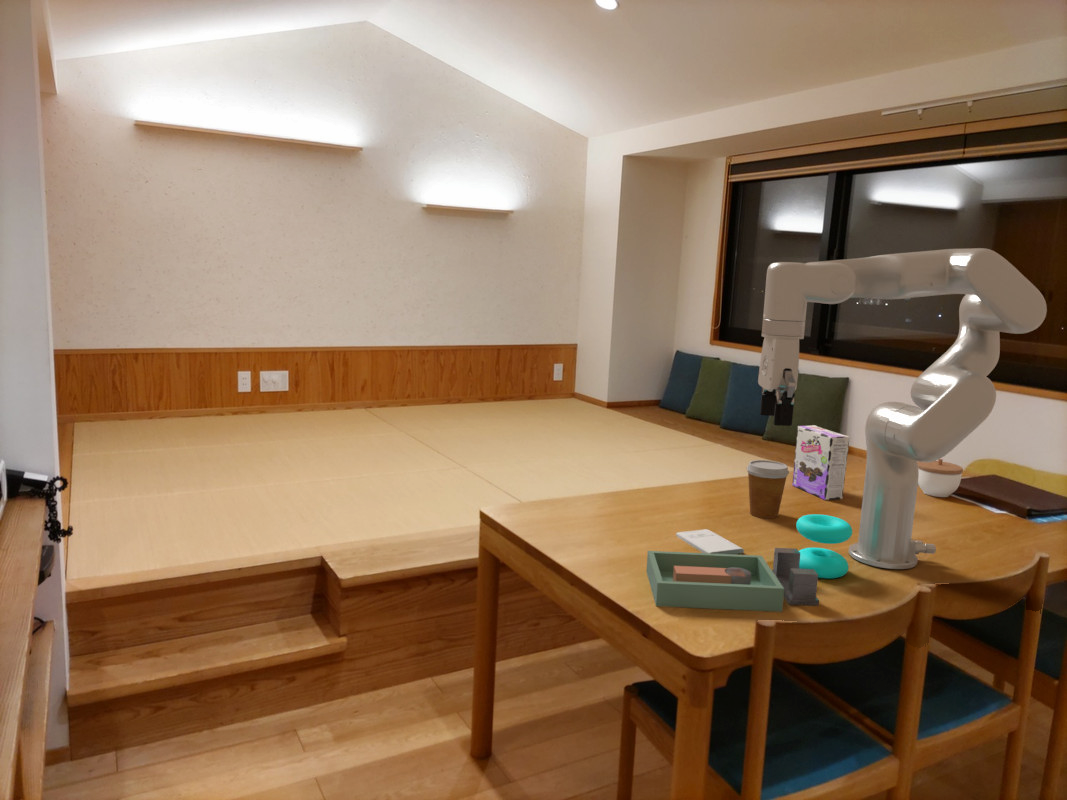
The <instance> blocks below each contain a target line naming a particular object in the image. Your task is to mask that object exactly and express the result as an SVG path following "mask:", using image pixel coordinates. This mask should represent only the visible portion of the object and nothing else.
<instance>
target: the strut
mask: <svg viewBox="0 0 1067 800" xmlns="http://www.w3.org/2000/svg"><path fill="white" fill-rule="evenodd" d="M673 581H677V582H699V583H721V584H744V585H751V572H750V571H748V570H746V569H742V568H736V567H731V568H712V567H691V566H674V570H673Z"/></svg>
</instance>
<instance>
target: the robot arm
mask: <svg viewBox="0 0 1067 800" xmlns="http://www.w3.org/2000/svg"><path fill="white" fill-rule="evenodd" d="M765 279H766V280H765V290H764V291H765V292H764V302H763V315H762V327H761V328H762V329H761V337H763V338H764V339H763V342H762V346H761V347H762V348H761V356H760V360H759V361H760V363H759V370H758V379H757V383H758V385H759V386H760V387H761V388H762V389H761V397H760V398H761V400H760V408H759V409H760V411H759V413H760V415H761V416H770V417H771V416H772V417H773V425H774V426H779V427H780V426H782V427H783V426H784V427H790V426H792V425H793V417H794V404H795V397H796V396H795V394H796V393H795V391H796V390H797V385H798V378H799V367H800V366H799V365H800V364H799V363H800V362H799V361H800V340H804V338H805V330H806V329H805V328H806V319H807V318H806V317H807V316H806V315H807V308H808V307H807V306H808V303H817V304H819V303H820V304H826V305H827V304H828V305H836V304H841V303H843V302H845V301H848V300H849V299H853V298H856V299H857V298H858V299H859V298H860V299H861V298H862V299H874V300H901V299H912V298H913V299H914V298H922V297H931V296H932V297H935V296H943V295H944V296H945V295H964V296H963V297H962V299H961V301H960V304H959V309H958V310H959V311H958V317H959V330H958V335H957V338H956V339H955V341H954V342H953V344H952V345H951V346H949V348H948V349H947V350H946V352H944V353H943V354H941V356H940V357H939V358H937V359H936V360H935V361H934V362H933V363H932V364H931V365H929V366H928V367H927V368H926V369H925V370H924V371H923V372H921V373H920V375H919V376H918V377H917V378H916V379H915V380H914V381H913V383H912V385H911V387H910V388H911V389H910V398H911V399H912V401H913V403H914V405H915V406H914V405H912V404H908V403H904V402H899V401H885V402H882V403H879V404H878V405H876V406H874V407H873V408H872V410H871V411H869V414H868V415H867V418H866V422H865V426H864V427H865V428H864V429H865V430H864V431H865V432H864V433H865V444H866V445H865V446H866V462H865V463H866V467H865V475H864V483H863V484H864V485H863V494H862V501H861V503H862V504H861V511H860V513H861V514H860V519H859V521H860V523H859V531H858V539H857V542H854V543H852V544H850V545H849V547H848V554H849V555H850V557H851V558H853V559H854V560H856V561H858V562H860V563H863V564H866V565H867V566H868V565H869V566H872V567H876V568H881V569H887V570H888V569H889V570H907V569H912V568H914V567H915V566H917V564H918V556H917V555H919V554H921V553H922V554H923V553H924V554H933V555H934V554H936V551H937V548H936V545H935V544H934V543H924V541H922V540H916V539H914V538H912V536H913V535H912V534H913V528H914V527H913V525H914V517H915V509H916V500H917V493H918V487H919V485H918V478H919V470H918V462H933V461H938V459H943V458H944V457H945V456H946V455H948V454H949V453H950V452H952V451H953V450H954V449H955V448H956V447H957V446H958V445H959V444H961V442H962V441H964V440H965V439H967V437H968V436H970V435H971V434H972V433H973V432H974V431H975V430H976V429H977V428H978V427H979V426H980V425H982V423H984V422H985V420H987V418H988V417H989V415H990V414H991V413H992V411H993V409H994V406H995V405H996V401H997V390H996V387H995V385H994V383H993V382H992V380H991V379H990V378H989V377H987V376H989V375H990V374H991V372H992V371H993V370H994V369H995V367H996V366H997V364H998V362H999V359H1000V353H1001V352H1000V350H1001V348H1000V347H1001V343H1000V342H1001V341H1000V340H1001V338H1000V332H1001V333H1007V334H1013V335H1014V334H1015V335H1017V334H1018V335H1019V334H1027V333H1030V332H1033V331H1034V330H1037V329H1038V328H1039V327H1040V326H1041V325H1042V324H1043V322H1044V320H1045V319H1046V317H1047V312H1048V309H1047V308H1048V307H1047V303H1046V300H1045V298H1044V295H1043V294H1042V293H1041V292H1040V290H1039V288H1037V287H1036V285H1034V284H1033V283H1032V282H1031V281H1030V280H1029V279H1028V278H1027V277H1026V276H1024V274H1022V272H1020V271H1019V270H1018V268H1016V267H1015V266H1014V265H1013V264H1012V263H1011V262H1009V260H1007V259H1006V258H1005V257H1003V256H1002V255H1001V254H999V253H998V252H996V251H994V250H993V249H992V250H991V249H989V248H983V247H982V248H981V247H977V248H975V247H974V248H945V249H935V250H924V251H923V250H922V251H911V252H900V253H899V252H898V253H897V252H896V253H888V254H880V255H873V256H867V257H858V258H848V259H835V260H834V259H833V260H823V261H812V262H811V261H809V262H805V263H804V262H796V261H795V262H793V261H792V262H791V261H789V262H787V261H778V262H777V261H776V262H772V263H770V264H769V265H768V267H767V270H766V278H765Z"/></svg>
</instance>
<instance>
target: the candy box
mask: <svg viewBox="0 0 1067 800" xmlns="http://www.w3.org/2000/svg"><path fill="white" fill-rule="evenodd" d="M850 438H851V437H850V435H845V434H842V433H839V432H835V431H832V430H829V429H827V428H823V427H821V426H817V424H816V425H814V424H812V425H798V426H797V430H796V442H795V452H794V461H793V462H794V463H793V474H792V483H791V484H792V486H793V487H795V488H797V489H799V490H802V491H804V492H806V493H809V494H811V495H812V496H816V497H817V498H819V499H821V500H824V501H830V500H831V501H832V500H843V497H844V488H845V479H846V473H847V472H846V471H847V462H848V453H849V444H850Z"/></svg>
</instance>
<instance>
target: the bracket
mask: <svg viewBox="0 0 1067 800" xmlns="http://www.w3.org/2000/svg"><path fill="white" fill-rule="evenodd" d="M799 563H800V552H799V549H797V548H794V547H793V548H787V547H774V551H773V565H772V566H773V567H772V569H771V570H772V572H773V573H774V574H775V576H776V577H777V579H778V580H779V582H780V583H781V585H782V586H783V587H784V597H783V599H785V601H786V602H787V604H788V605H790V606H809V607H810V606H811V607H819V604H820V599H819V598H818V597H817V589H818V588H817V587H818V582H819V581H818V580H819V578H818V574H817V573H816V571H815V570H814V569H799Z"/></svg>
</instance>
